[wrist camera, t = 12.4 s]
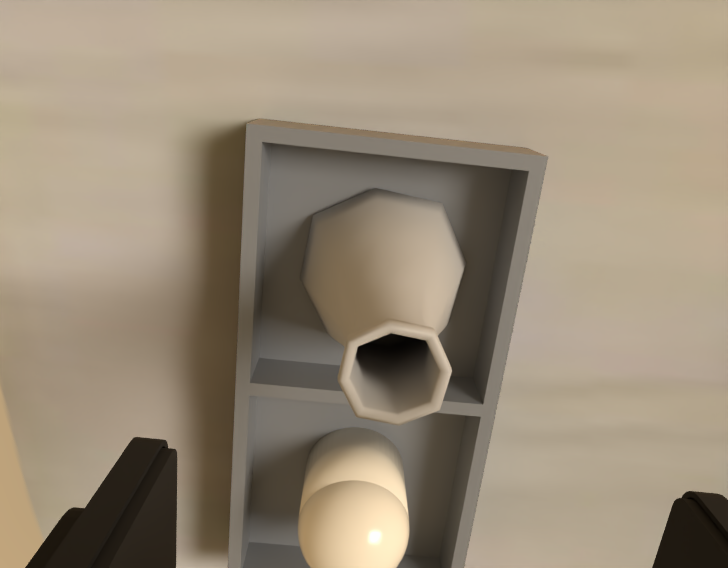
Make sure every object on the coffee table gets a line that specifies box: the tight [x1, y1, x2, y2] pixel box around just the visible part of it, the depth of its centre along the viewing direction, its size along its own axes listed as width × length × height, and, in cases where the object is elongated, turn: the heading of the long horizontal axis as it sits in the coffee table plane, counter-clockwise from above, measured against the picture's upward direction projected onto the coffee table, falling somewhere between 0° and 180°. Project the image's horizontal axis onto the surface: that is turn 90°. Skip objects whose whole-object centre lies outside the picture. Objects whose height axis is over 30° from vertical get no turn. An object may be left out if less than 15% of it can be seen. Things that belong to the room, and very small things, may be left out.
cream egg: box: [298, 427, 409, 568], centre depth 26 cm, size 5×5×6 cm
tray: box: [228, 119, 548, 568], centre depth 27 cm, size 22×11×3 cm, turn 174°
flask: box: [300, 188, 466, 426], centre depth 21 cm, size 7×7×10 cm
